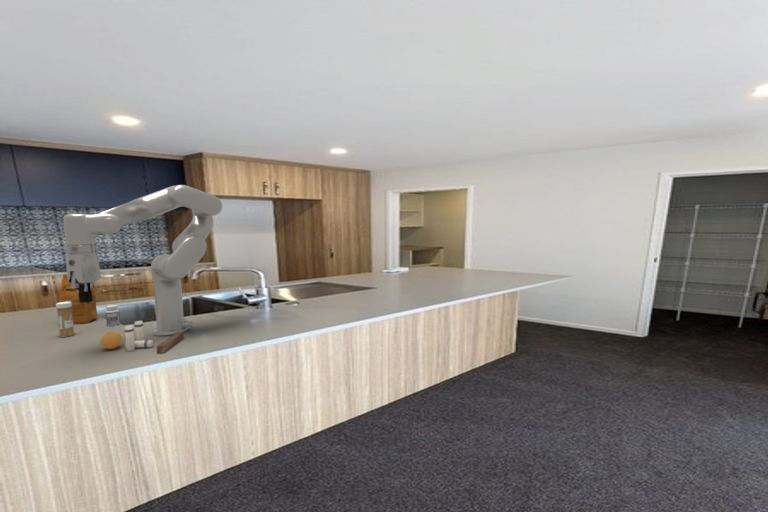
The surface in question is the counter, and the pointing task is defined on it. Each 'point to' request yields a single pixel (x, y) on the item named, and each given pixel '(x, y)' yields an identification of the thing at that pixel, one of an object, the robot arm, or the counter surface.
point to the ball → (111, 340)
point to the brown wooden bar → (169, 342)
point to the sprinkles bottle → (65, 319)
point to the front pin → (143, 343)
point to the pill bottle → (112, 315)
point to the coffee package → (78, 303)
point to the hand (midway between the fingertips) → (86, 302)
